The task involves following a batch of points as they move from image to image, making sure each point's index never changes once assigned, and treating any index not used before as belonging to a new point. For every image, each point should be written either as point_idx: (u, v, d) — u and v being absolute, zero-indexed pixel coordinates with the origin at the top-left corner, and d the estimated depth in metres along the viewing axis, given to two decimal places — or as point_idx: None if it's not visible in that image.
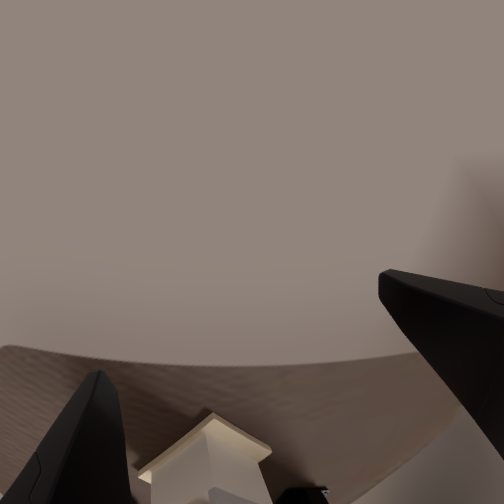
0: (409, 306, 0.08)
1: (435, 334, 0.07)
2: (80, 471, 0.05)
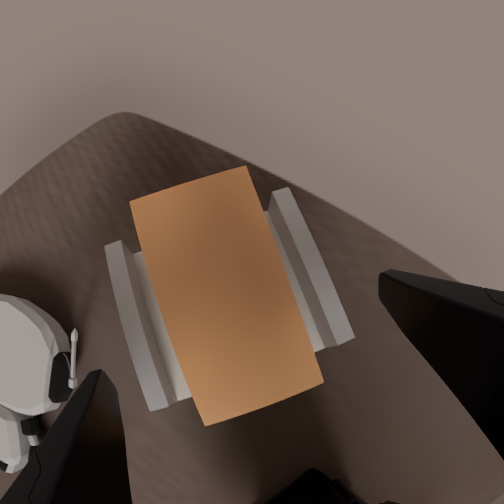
0: (409, 306, 0.08)
1: (435, 334, 0.07)
2: (80, 471, 0.05)
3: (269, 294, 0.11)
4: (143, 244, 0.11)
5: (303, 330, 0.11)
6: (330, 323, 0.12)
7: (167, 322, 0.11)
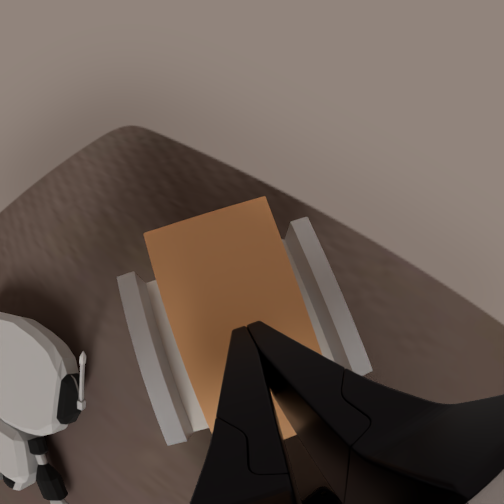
0: (266, 370, 0.07)
1: (289, 408, 0.07)
2: (278, 426, 0.05)
3: (289, 331, 0.11)
4: (159, 279, 0.11)
5: None
6: (348, 357, 0.11)
7: (185, 359, 0.10)
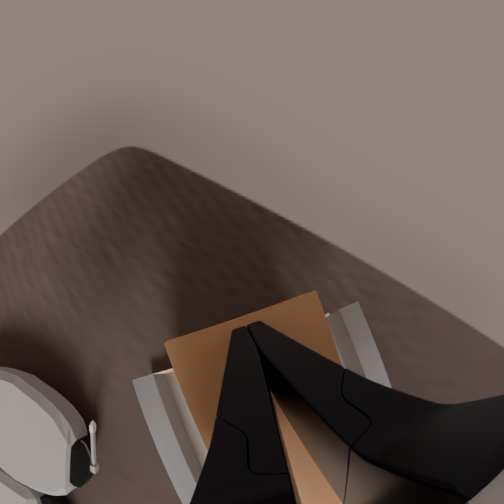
0: (266, 370, 0.07)
1: (289, 408, 0.07)
2: (278, 426, 0.05)
3: None
4: (189, 398, 0.08)
5: None
6: None
7: None
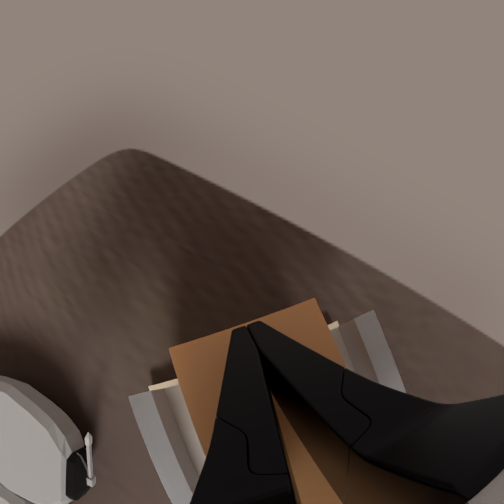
0: (266, 370, 0.07)
1: (289, 408, 0.07)
2: (278, 426, 0.05)
3: None
4: (190, 403, 0.08)
5: None
6: None
7: None
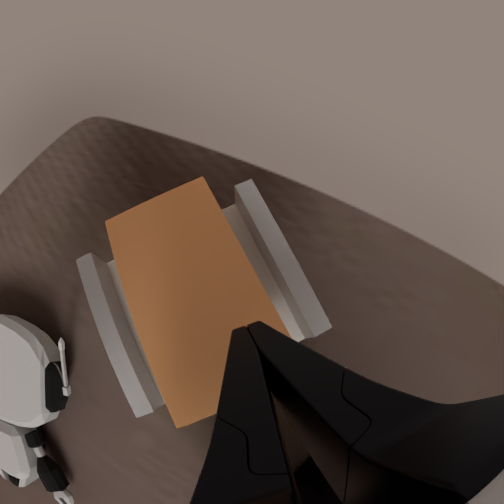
0: (266, 370, 0.07)
1: (289, 408, 0.07)
2: (278, 426, 0.05)
3: (232, 280, 0.11)
4: (115, 253, 0.12)
5: (273, 312, 0.11)
6: (304, 315, 0.12)
7: (135, 318, 0.11)
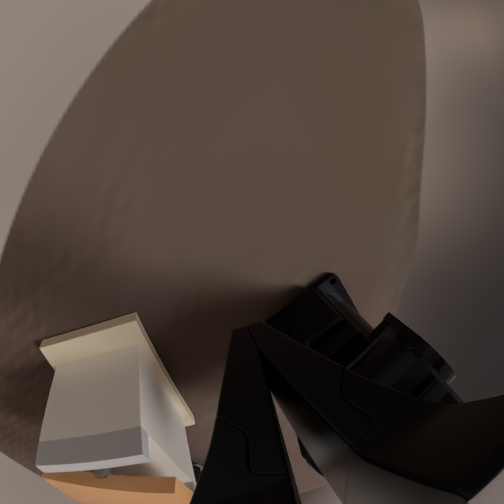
0: (266, 369, 0.07)
1: (289, 408, 0.07)
2: (278, 426, 0.05)
3: (114, 495, 0.11)
4: None
5: (134, 492, 0.11)
6: (132, 464, 0.12)
7: None
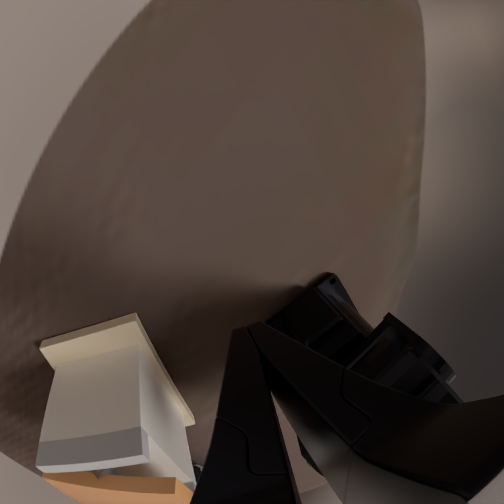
0: (266, 370, 0.07)
1: (289, 408, 0.07)
2: (278, 426, 0.05)
3: (114, 495, 0.11)
4: None
5: (134, 493, 0.11)
6: (133, 464, 0.12)
7: None
